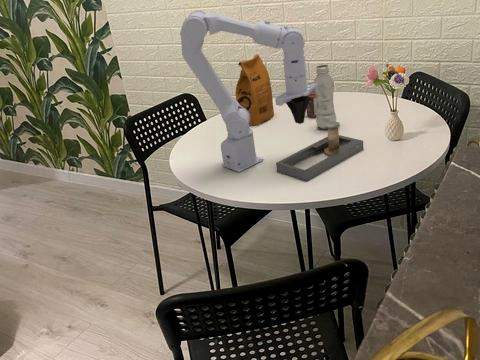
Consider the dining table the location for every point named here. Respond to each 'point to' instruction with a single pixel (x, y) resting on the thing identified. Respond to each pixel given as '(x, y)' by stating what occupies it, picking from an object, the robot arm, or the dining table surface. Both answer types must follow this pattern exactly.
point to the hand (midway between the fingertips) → (299, 122)
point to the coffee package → (255, 90)
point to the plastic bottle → (324, 97)
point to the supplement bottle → (312, 105)
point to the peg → (332, 137)
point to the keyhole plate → (338, 155)
